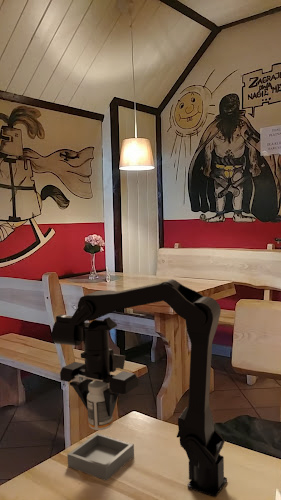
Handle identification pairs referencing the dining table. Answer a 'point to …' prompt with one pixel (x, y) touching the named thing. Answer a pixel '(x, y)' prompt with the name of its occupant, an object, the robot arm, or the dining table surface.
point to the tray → (101, 456)
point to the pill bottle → (98, 406)
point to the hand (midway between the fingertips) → (99, 412)
